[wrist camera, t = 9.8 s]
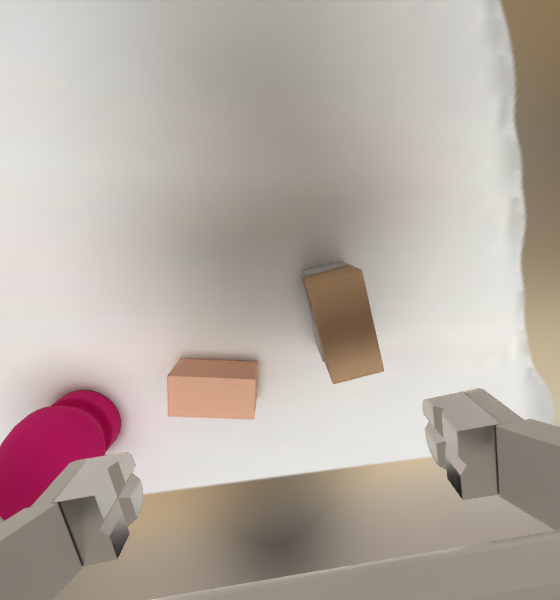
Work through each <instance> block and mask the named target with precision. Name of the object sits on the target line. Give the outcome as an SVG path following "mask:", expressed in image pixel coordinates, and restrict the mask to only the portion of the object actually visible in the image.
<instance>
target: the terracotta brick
mask: <svg viewBox="0 0 560 600" xmlns="http://www.w3.org/2000/svg"><path fill="white" fill-rule="evenodd" d="M257 375H258V361H235V360H211V359H187V358H181V359H180V360H179V361H178V363H177V364H176V365H175V367H174V368H173V369H172V370H171V372H170V373H169V374H168V376H167V392H168V416H175V417H201V418H228V419H254V415H255V407H256V399H257Z"/></svg>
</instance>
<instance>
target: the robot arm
mask: <svg viewBox="0 0 560 600" xmlns="http://www.w3.org/2000/svg"><path fill="white" fill-rule="evenodd" d="M423 414H424V416H425V417H426V418H427V419H428V421H429V422H428V424H427V426H426V428H425V434H426V440H427V444H428V447H429V450H430V452H431V454H432V456H433V458H434V460H435V461H436V463H437V464H438V465H439V466H440V467H443V468H444V469H446V470H447V477H448V480H449V481H450V483H451V484H452V486H453V487H454V488H455V490H456V491H457V493H458V494H459V495H460V497H461V498H462V499H463V500H464V499H471V498H479V497H485V496H493V495H500V497H501V498H503V499H505V500H506V501H508V502H510V503H512V504H513V505H515V506H516V507H518V508H520V509H521V510H523V511H525V512H526V513H528V514H530V515H531V516H533V517H535V518H536V519H538V520H539V521H541V522H543V523H544V524H546V525H548V526H549V527H551V528H553V529H554V530H556V531H550V532H545V533H539V534H533V535H528V536H522V537H516V538H511V539H505V540H499V541H493V542H487V543H481V544H475V545H469V546H463V547H457V548H451V549H445V550H439V551H434V552H427V553H422V554H416V555H410V556H404V557H398V558H392V559H386V560H380V561H374V562H368V563H362V564H356V565H350V566H344V567H338V568H333V569H326V570H320V571H315V572H309V573H304V574H297V575H292V576H286V577H280V578H274V579H268V580H262V581H256V582H251V583H245V584H239V585H233V586H228V587H221V588H216V589H210V590H205V591H198V592H193V593H186V594H180V595H174V596H169V597H162V598H157V599H151V600H560V427H557V426H553V425H550V424H546V423H543V422H539V421H536V420H532V419H528V420H524V419H522V418H521V417H520V416H518V415H517V414H516V413H514V412H513V411H512V410H510V409H509V408H507V407H506V406H505V405H503V404H502V403H501V402H499V401H498V400H497V399H495V398H494V397H493V396H491V395H490V394H489V393H487V392H486V391H485V390H483V389H480V388H477V389H472V390H467V391H463V392H459V393H454V394H449V395H444V396H439V397H435V398H430V399H425V400H423ZM135 466H136V465H135V462H134V459H133V457H132V455H131V454H130V453H128V452H125V453H119V454H112V455H106V456H99V457H93V458H87V459H81V460H76V461H73V462H71V463H69V464H68V466H67V467H66V468H65V469H64V470H63V471H62V472H61V473H60V475H59V476H58V477H57V478H56V479H55V480H54V481H53V482H52V483H51V485H50V486H49V487H48V488H47V489H46V490H45V491H44V492H43V494H42V495H41V496H40V497H39V498H38V499H37V500H36V501H35V503H34V504H33V505H32V506H31V507H29V508H24V509H23V510H21V511H19V512H18V513H16V514H15V515H13V516H12V517H10V518H9V519H7V520H5V521H4V522H2V523H1V524H0V600H53V599H54V598H55V597H56V596H57V595H58V594H59V593H60V591H62V589H64V587H65V586H66V585H67V584H68V583H69V582H70V581H71V580H72V579H73V578H74V577H75V576H76V575H77V574H78V572H80V571H81V569H82V566H87V565H92V564H96V563H101V562H106V561H111V560H116V559H118V557H119V555H120V553H121V551H122V549H123V546H124V544H125V542H126V540H127V538H128V536H129V530H128V526H129V525H130V524H131V523H132V522H134V521H135V520H136V519H137V517H138V515H139V513H140V510H141V508H142V502H143V487H142V484H141V480H140V479H139V478H138V477H137V476H135V475H134V474H133V470H134V468H135Z"/></svg>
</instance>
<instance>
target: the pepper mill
mask: <svg viewBox="0 0 560 600" xmlns="http://www.w3.org/2000/svg"><path fill="white" fill-rule="evenodd" d="M119 431H120V417H119V414H118V411H117V409H116V408H115V406H114V405H113V404H112V402H111V401H109V400H108V399H107V398H106V397H105V396H103V395H101V394H98V393H96V392H92V391H84V390H82V391H75V392H71V393H69V394H67V395H65V396H64V397H62V398H61V399H60V400H58V401H57V402H56V403H54V404H53V405H52V406H50V407H45V408H42V409H39V410H37V411H35V412H33V413H31V414H30V415H28V416H27V417H26V418H24V419H23V420H22V421H21V422H20V423H18V424H17V425H16V426H15V427H14V428H13V429H12V431H11V432H10V433H9V434H8V436H7V437H6V438H5V440H4V441H3V443H2V444H1V446H0V524H1V523H2V522H4V521H5V520H7V519H9V518H10V517H12V516H13V515H15V514H16V513H18V512H19V511H21V510H23V509H24V508H29V507H31V506H32V505H33V504H34V503H35V501H36V500H37V499H38V498H39V497H40V496H41V495H42V494H43V492H44V491H45V490H46V489H47V488H48V487H49V486H50V485H51V483H52V482H53V481H54V480H55V479H56V478H57V477H58V476H59V475H60V473H61V472H62V471H63V470H64V469H65V468H66V467H67V466H68V464H69V463H71V462H73V461H76V460H81V459H87V458H93V457H99V456H105V452H106V451H107V449H108V448H109V447H110V446H111V444H112V443H113V442H114V441H115V439H116V438H117V436H118V434H119Z"/></svg>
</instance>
